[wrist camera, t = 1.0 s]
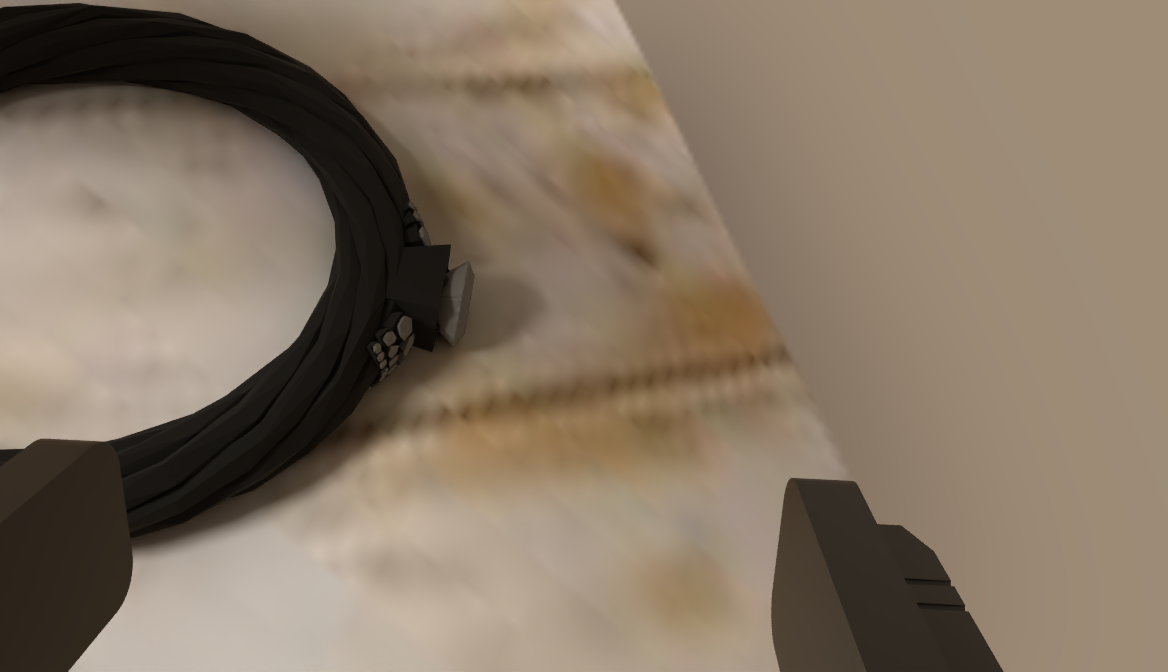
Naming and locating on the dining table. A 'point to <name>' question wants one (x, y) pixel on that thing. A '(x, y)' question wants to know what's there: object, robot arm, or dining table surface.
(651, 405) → the dining table surface
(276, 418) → the cable lock
